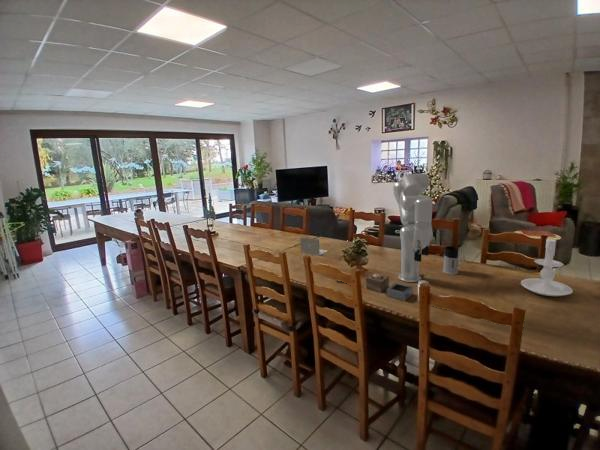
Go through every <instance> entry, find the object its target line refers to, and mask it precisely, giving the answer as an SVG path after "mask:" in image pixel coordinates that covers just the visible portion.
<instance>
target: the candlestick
mask: <svg viewBox="0 0 600 450" xmlns="http://www.w3.org/2000/svg"><path fill="white" fill-rule="evenodd" d="M545 240H546V241H545V255H544V258H537V259H534V260H533V261H534V263H536V264H537V265H540V266H543V268H542V269H541V270H540V272H539V275H540V278H537V277H533V278H525V279H522V280H521V281H520V285H521V286H522V287H523V288H526V289H527V290H529V291H530V292H533V293H535V294H537V295H542V296H546V297H547V296H548V297H563V296H567V295H572V293H574V291H573V288H572V287H571V286H569V285H567V284H565V283H563V282H559V281H556V280H555V276H556V269H557V268H561V267H563V266H564V265H565V264H564V263H562V262H561V261H558V260H554V256H555V253H556V244H557V240H555V239H553V238H552V239H551V238H546V239H545Z"/></svg>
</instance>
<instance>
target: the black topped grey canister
mask: <svg viewBox="0 0 600 450" xmlns="http://www.w3.org/2000/svg"><path fill="white" fill-rule="evenodd" d="M443 251H444V253H443V266H442V267H443V269H442V272H443V273H444V274H448V275H457V274H459V269H460V268H461V267H463V265H464V263H465V261H466V260H465V255H464V253H459V247H457V246H452V245H451V246H449V245H448V246H445V247H444V250H443ZM460 255H462V257H463V258H462V263H461V265H459V257H460Z"/></svg>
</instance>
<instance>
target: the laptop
mask: <svg viewBox="0 0 600 450" xmlns="http://www.w3.org/2000/svg"><path fill="white" fill-rule="evenodd" d="M299 240H300V242H299V244H300V252H301V254H309V255H314V256H322V255H323V254H326V253H328V252H329V250H325V249H320V239H319V238H314V237H313V238H311V237H304V236H300V237H299Z"/></svg>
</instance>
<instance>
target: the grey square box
mask: <svg viewBox="0 0 600 450" xmlns="http://www.w3.org/2000/svg"><path fill="white" fill-rule="evenodd" d="M374 274H376V273H372V274H370V275H369V276H367V277H366V278H365V282H366V283H365V289H367V290H371V291H374V292H378V293H382V292H383V291H386V290H387V288H389V287H390V285H389V284H390V281H389V280H390V277H389V276H387V275H385V274H384V275H383V274H381V275H382V277H381V279H380V280H378V279H374V277H373V275H374Z"/></svg>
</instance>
